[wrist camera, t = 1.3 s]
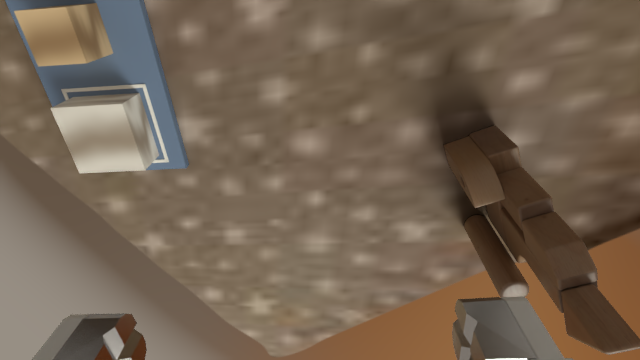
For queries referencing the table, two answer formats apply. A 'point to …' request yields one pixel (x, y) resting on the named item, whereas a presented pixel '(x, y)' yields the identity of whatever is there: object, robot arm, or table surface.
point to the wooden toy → (532, 239)
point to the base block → (107, 132)
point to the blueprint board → (118, 71)
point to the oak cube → (65, 34)
